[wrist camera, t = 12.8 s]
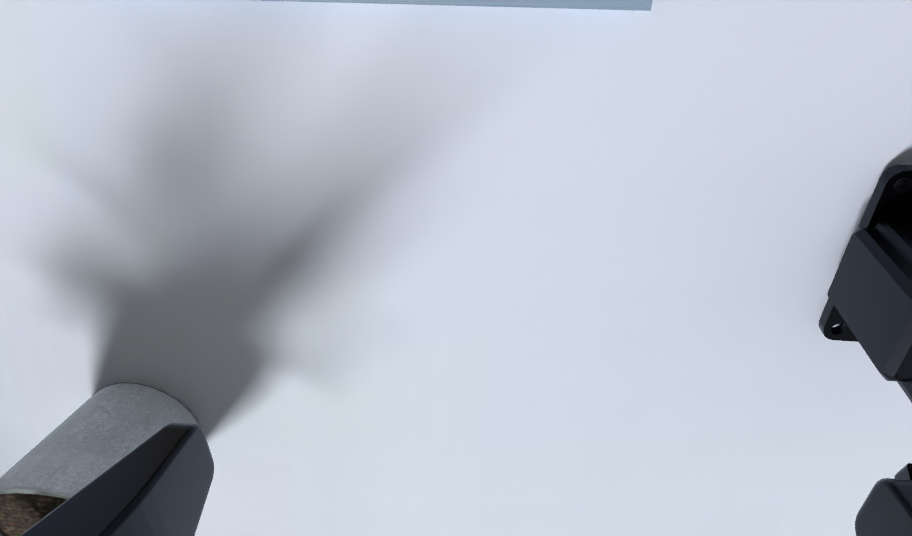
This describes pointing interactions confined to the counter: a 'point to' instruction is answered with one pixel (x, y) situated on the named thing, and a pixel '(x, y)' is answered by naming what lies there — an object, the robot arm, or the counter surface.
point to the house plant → (83, 451)
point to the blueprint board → (515, 3)
